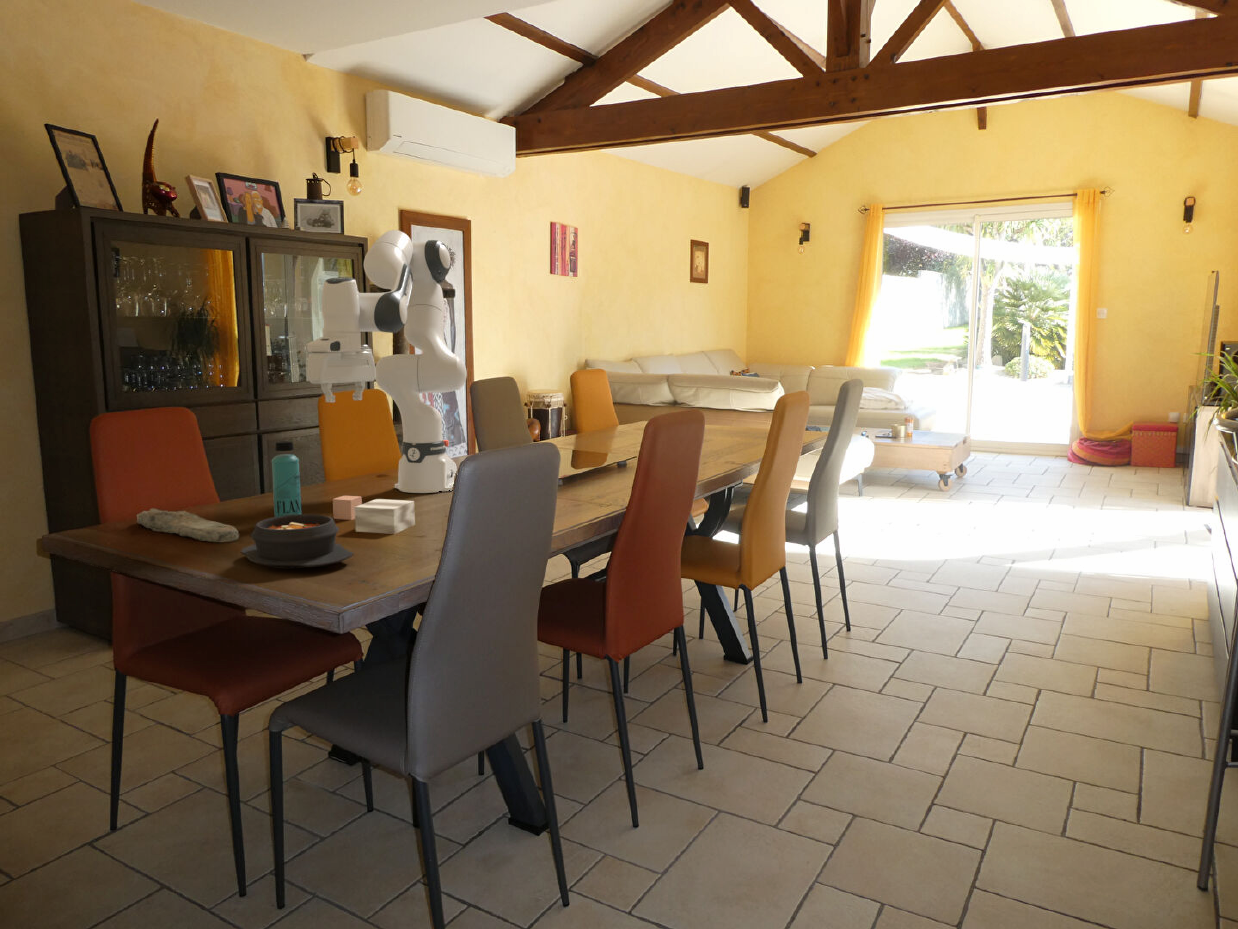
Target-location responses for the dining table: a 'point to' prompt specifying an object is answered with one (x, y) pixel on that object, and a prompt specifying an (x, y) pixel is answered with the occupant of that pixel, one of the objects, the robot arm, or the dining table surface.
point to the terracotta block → (346, 507)
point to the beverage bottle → (286, 481)
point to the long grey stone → (187, 525)
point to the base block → (384, 516)
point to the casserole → (296, 542)
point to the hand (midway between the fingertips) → (344, 401)
